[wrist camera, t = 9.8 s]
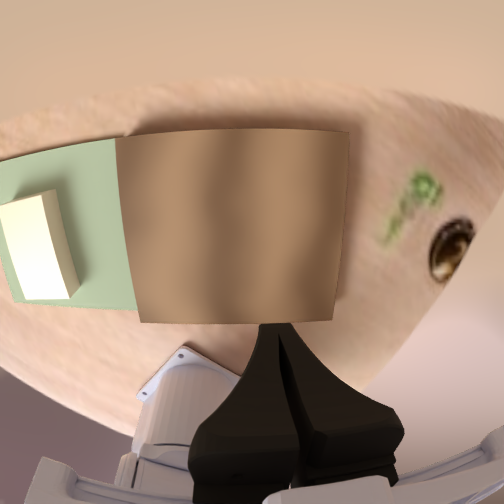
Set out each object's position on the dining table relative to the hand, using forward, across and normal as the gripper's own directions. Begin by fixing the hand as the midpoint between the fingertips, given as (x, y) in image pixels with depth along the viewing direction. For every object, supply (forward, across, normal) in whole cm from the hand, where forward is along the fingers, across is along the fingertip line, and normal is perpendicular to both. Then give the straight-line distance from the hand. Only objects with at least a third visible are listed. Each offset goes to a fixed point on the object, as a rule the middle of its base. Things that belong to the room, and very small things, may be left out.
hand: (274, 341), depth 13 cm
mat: (+9, +16, -2) cm, 19 cm away
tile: (+8, +17, -2) cm, 19 cm away
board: (+9, +2, -2) cm, 10 cm away
